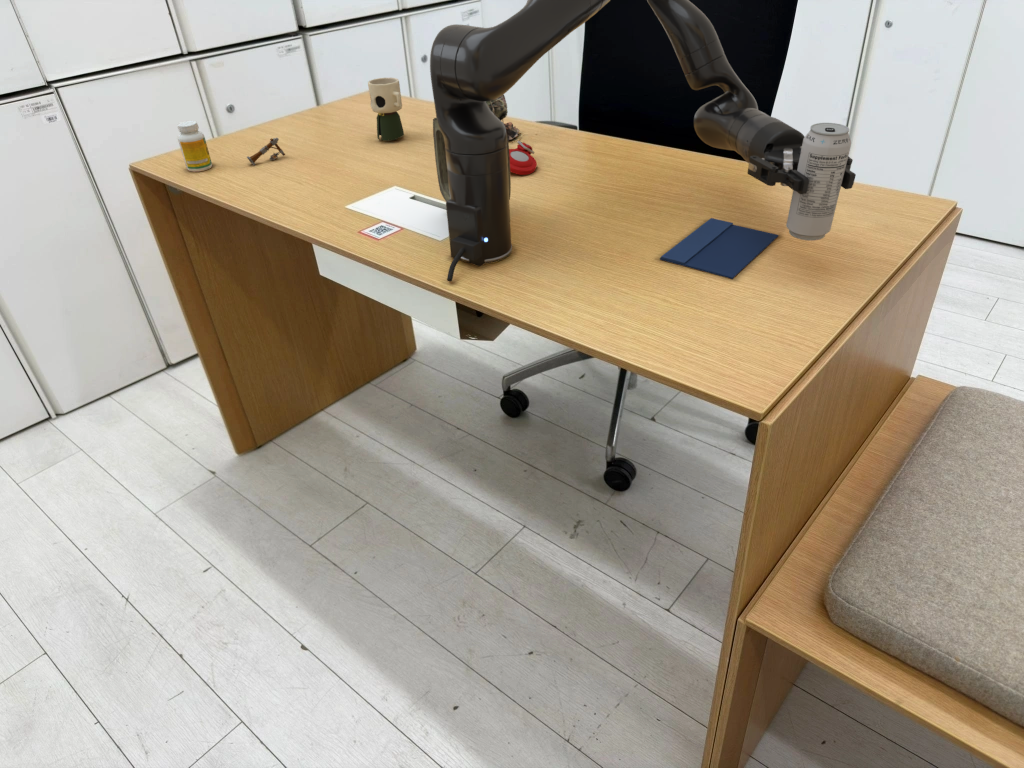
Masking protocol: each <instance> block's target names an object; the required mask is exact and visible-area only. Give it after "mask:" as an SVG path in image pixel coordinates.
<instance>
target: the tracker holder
mask: <svg viewBox="0 0 1024 768" xmlns="http://www.w3.org/2000/svg"><path fill="white" fill-rule="evenodd" d="M516 143H517V147H516V148H509V156H510V173H512V174H516V175H519V176H526V175H530V174H533V173H534V172H535V171H536V168H537V166H538V162H537V160H536V159H535V157H533V156H532V154H535V151H534V150H533V147H532V145H530V144H528V143H526V142H522V141H520V140H517V141H516Z"/></svg>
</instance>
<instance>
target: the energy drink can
mask: <svg viewBox="0 0 1024 768" xmlns="http://www.w3.org/2000/svg"><path fill="white" fill-rule="evenodd" d="M809 129H810V130H809V131H808V133H806V135H804V139H803V144H802V149H801V154H800V159H799V164H798V169H797V171H798V172H800V173H801V174H803V175H804V176H806V177H807V178H808V179H809V184H808V189H807V193H806V194H799V193H798V192H796V191H794V190H792V194H791V199H790V203H789V204H790V205H789V209H788V214H787V220H786V224H785V227H786V228H787V229H788V233H789V235H790V236H791V237H792V238H795V239H798V240H801V241H808V242H809V241H811V242H812V241H813V242H814V241H819V240H822V239H823V238H825V237H826V235H827V234H828V233H830V232H831V230H832V225H833V221H834V217H835V213H836V209H837V205H838V202H839V201H838V200H839V197H840V192H841V188H842V187H841V184H842V180H843V176H844V172H845V167H846V163H847V159H848V156H849V154H850V151H851V146H852V140H851V137H850V133H849V132H850V127H848V126H847V125H844V124H841V123H836V122H818V123H814V124H812V125H811V126H810V128H809Z"/></svg>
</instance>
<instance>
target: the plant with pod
mask: <svg viewBox="0 0 1024 768" xmlns="http://www.w3.org/2000/svg"><path fill="white" fill-rule="evenodd" d="M486 103H487V105H488V107H489V109H490V110H491V111H492V113H493V114H494V115H495V116H496V117H497V118H498V119H499V120H501V121H502V122H503V124H504V125H505V127H506V133H507V136H508V142H509V141H511V140H514V139H515V138H516V137H518V134H519V133H520V132H521V130H520V129H519V128H518V127H516V126H514V124H513V122H512V121H508V122H505V123H504V120H505V118H507V116H508V103H507V100H506V96H505V94H503V95H502V96H501V97H499V98H497V99H495V100H492V101H486Z"/></svg>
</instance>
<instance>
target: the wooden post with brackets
mask: <svg viewBox="0 0 1024 768" xmlns="http://www.w3.org/2000/svg"><path fill="white" fill-rule="evenodd" d="M278 143H279V137H273V138H272V137H271V138H270V139H269V142H268V143H267V144H266V145H264V146H262V148H260V149H259V151H258V152H256V153H254V154H253V155H251V156H249V155H247V156H246V158H247V160H248V161H249V162H250V163H251V164H252V165H253V166H255V165H256V162H257V160H259V158H260V157H262V156H263V155H265V154H266V153H268V151H270V149H274V150H278V152H273V153H272V155H270V157H269V160H270V161H275V160H276V159H278V158H279V155H280V154H281V156H283V157H284V156H286V153H285V152H284V150H283V149H282V148H281V147H280V146H279V145H278Z"/></svg>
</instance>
